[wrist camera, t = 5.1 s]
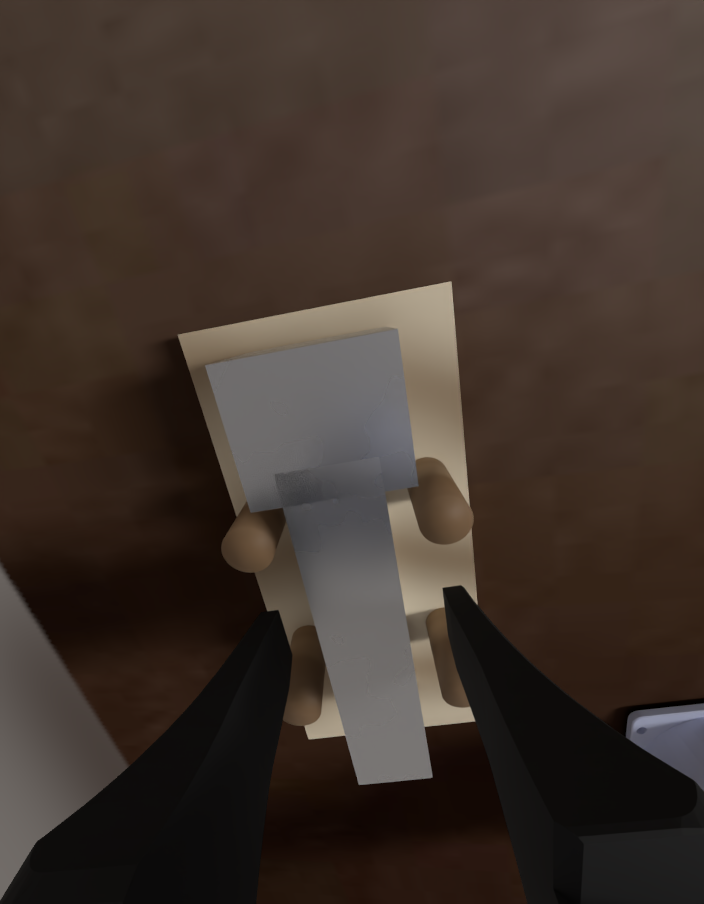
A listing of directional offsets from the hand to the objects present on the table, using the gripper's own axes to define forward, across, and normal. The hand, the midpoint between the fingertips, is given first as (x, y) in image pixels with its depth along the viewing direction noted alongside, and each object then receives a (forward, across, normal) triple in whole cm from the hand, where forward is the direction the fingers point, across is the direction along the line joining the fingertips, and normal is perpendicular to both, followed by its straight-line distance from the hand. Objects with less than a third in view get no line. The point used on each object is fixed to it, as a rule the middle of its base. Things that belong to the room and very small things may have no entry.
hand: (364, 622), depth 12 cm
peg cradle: (+4, 0, 0) cm, 4 cm away
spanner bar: (+3, 0, -1) cm, 3 cm away
